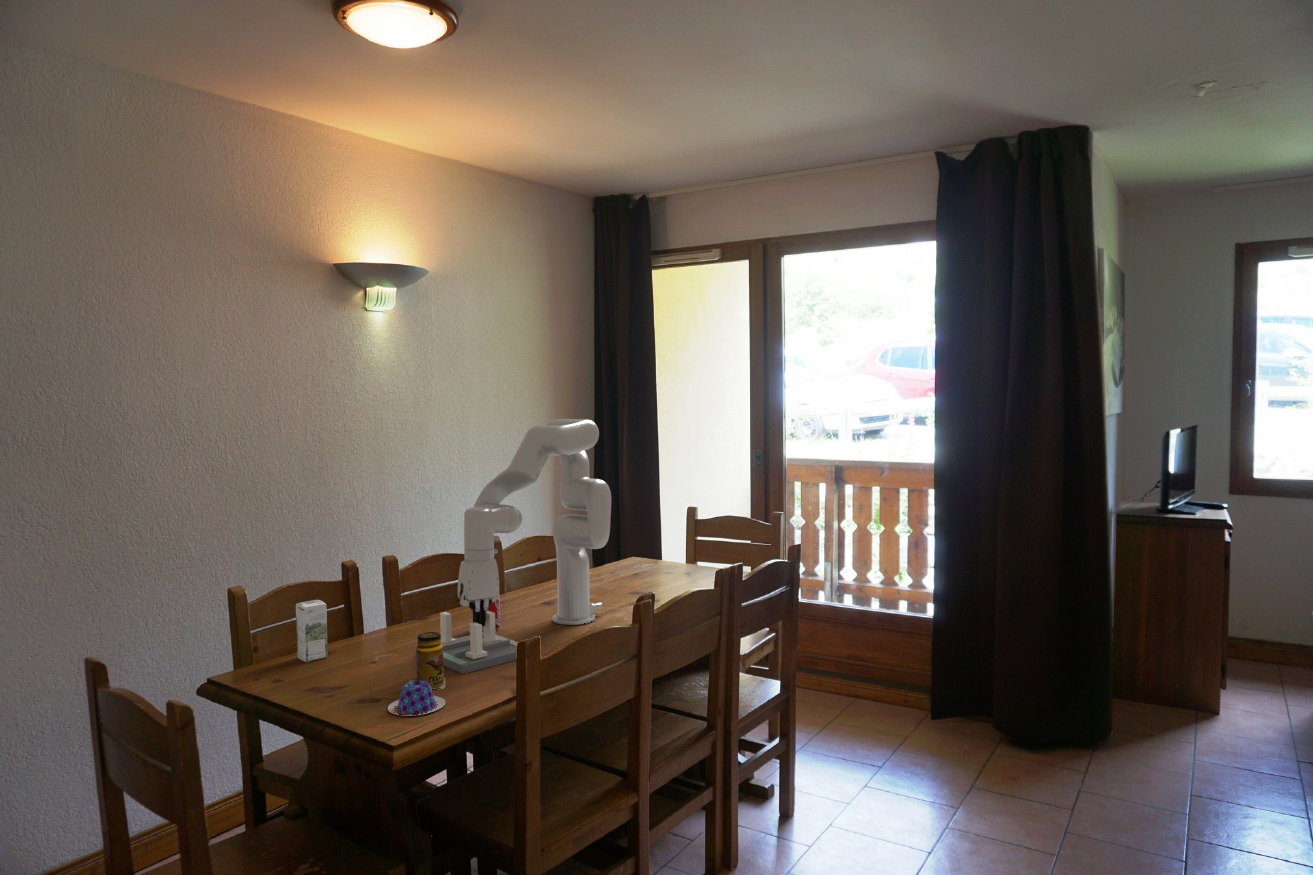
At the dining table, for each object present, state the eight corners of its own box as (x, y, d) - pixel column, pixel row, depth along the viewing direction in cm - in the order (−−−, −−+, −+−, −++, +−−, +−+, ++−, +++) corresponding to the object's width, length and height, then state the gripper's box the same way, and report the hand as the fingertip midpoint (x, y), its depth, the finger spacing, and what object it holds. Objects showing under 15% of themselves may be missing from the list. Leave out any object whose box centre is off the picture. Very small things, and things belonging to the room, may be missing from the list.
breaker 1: (449, 640, 222) (449, 610, 222) (456, 643, 220) (456, 613, 219) (436, 643, 219) (435, 613, 219) (442, 646, 217) (442, 616, 216)
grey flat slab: (485, 638, 232) (485, 627, 232) (531, 655, 216) (531, 643, 215) (419, 654, 218) (418, 642, 218) (462, 673, 202) (462, 660, 202)
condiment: (445, 689, 192) (443, 637, 191) (406, 692, 190) (405, 640, 189) (445, 678, 199) (444, 628, 198) (408, 681, 197) (407, 631, 196)
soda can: (494, 634, 236) (493, 591, 235) (471, 632, 237) (470, 591, 237) (504, 627, 243) (503, 586, 242) (481, 626, 244) (480, 585, 244)
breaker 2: (479, 652, 211) (479, 621, 211) (487, 655, 209) (486, 624, 208) (465, 656, 208) (464, 624, 208) (473, 659, 206) (472, 627, 205)
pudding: (408, 696, 188) (407, 673, 188) (455, 701, 185) (455, 677, 185) (376, 715, 177) (375, 691, 177) (426, 721, 173) (425, 696, 173)
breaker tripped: (492, 639, 222) (492, 609, 222) (500, 642, 220) (499, 612, 219) (479, 642, 220) (478, 612, 219) (486, 645, 217) (486, 615, 217)
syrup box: (318, 653, 220) (317, 598, 220) (328, 658, 216) (326, 602, 215) (296, 658, 216) (295, 602, 216) (306, 663, 212) (304, 606, 211)
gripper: (496, 550, 225) (496, 618, 225) (445, 556, 215) (446, 627, 215) (511, 553, 219) (511, 623, 220) (460, 560, 209) (461, 633, 210)
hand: (479, 625), depth 217 cm, fingers closed
